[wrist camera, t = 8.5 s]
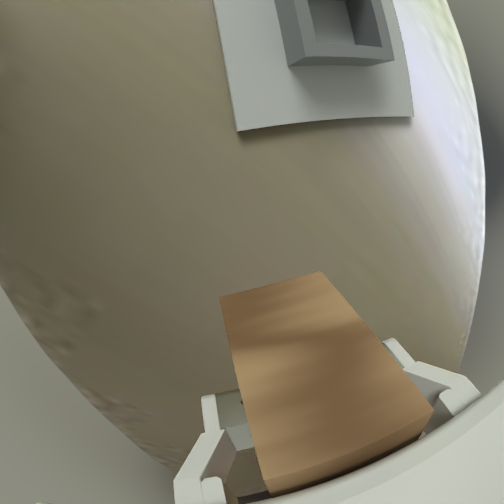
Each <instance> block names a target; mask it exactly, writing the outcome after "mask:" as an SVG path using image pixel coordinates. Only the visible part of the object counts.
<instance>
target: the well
mask: <svg viewBox="0 0 504 504" xmlns="http://www.w3.org/2000/svg"><path fill="white" fill-rule="evenodd" d="M212 1H213V6H214V12H215V17H216V23H217V28H218V34H219V39H220V45H221V50H222V56H223V61H224V67H225V72H226V78H227V83H228V89H229V94H230V100H231V106H232V111H233V117H234V122H235V128H236V131H243V130H249V129H255V128H262V127H268V126H275V125H283V124H291V123H299V122H309V121H319V120H330V119H343V118H361V117H393V116H414V111H413V102H412V94H411V86H410V79H409V73H408V67H407V61H406V56H405V50H404V46H403V41H402V36H401V32H400V27H399V23H398V19H397V15H396V12H395V8H394V4H393V1H392V0H212Z"/></svg>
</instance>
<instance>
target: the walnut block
mask: <svg viewBox="0 0 504 504" xmlns="http://www.w3.org/2000/svg"><path fill="white" fill-rule="evenodd" d="M219 299H220V304H221V309H222V313H223V318H224V323H225V327H226V332H227V336H228V341H229V345H230V350H231V354H232V359H233V363H234V367H235V372H236V376H237V380H238V384H239V388H240V392H241V397H242V401H243V405H244V409H245V413H246V417H247V420H248V424H249V428H250V432H251V436H252V440H253V443H254V447H255V451H256V455H257V458H258V462H259V465H260V469H261V473H262V476H263V480H264V482H265V484H266V486H267V488H268V491H269V493H270V495H271V497H272V498H275V497H279V496H283V495H286V494H290V493H294V492H297V491H300V490H304V489H307V488H310V487H313V486H316V485H319V484H322V483H325V482H328V481H330V480H333V479H336V478H339V477H341V476H344V475H346V474H349V473H351V472H354V471H356V470H358V469H361V468H363V467H365V466H368V465H370V464H372V463H374V462H376V461H378V460H380V459H383V458H385V457H387V456H389V455H391V454H393V453H395V452H397V451H398V450H400V449H402V448H404V447H406V446H408V445H410V444H411V443H413V442H415V441H417V440H418V439H419V437H420V435H421V433H422V432H423V430H424V428H425V427H426V425H427V423H428V421H429V419H430V417H431V416H432V414H433V412H434V409H433V407H432V406H431V405H430V403H429V402H428V401H427V400H426V398H425V397H424V396H423V394H422V393H421V392H420V391H419V389H418V388H417V387H416V385H415V384H414V383H413V382H412V380H411V379H410V378H409V376H408V375H407V374H406V373H405V371H404V370H403V369H402V368H401V366H400V365H399V364H398V363H397V361H396V360H395V359H394V358H393V356H392V355H391V354H390V353H389V352H388V350H387V349H386V348H385V347H384V345H383V344H382V343H381V342H380V341H379V339H378V338H377V337H376V336H375V334H374V333H373V332H372V331H371V330H370V328H369V327H368V326H367V325H366V324H365V322H364V321H363V320H362V319H361V318H360V316H359V315H358V314H357V313H356V312H355V311H354V309H353V308H352V307H351V306H350V305H349V303H348V302H347V301H346V300H345V299H344V298H343V296H342V295H341V294H340V293H339V292H338V291H337V289H336V288H335V287H334V286H333V285H332V284H331V282H330V281H329V280H328V279H327V278H326V277H325V276H324V274H323V273H322V272H321V271H320V272H316V273H312V274H309V275H305V276H301V277H297V278H294V279H290V280H286V281H282V282H278V283H275V284H271V285H267V286H263V287H259V288H255V289H251V290H247V291H243V292H239V293H235V294H231V295H227V296H223V297H219Z"/></svg>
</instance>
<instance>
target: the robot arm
mask: <svg viewBox="0 0 504 504" xmlns="http://www.w3.org/2000/svg"><path fill="white" fill-rule="evenodd" d="M381 343H382V344H383V345H384V347H385V348H386V349H387V350H388V352H389V353H390V354H391V355H392V356H393V358H394V359H395V360H396V361H397V363H398V364H399V365H400V366H401V368H402V369H403V370H404V371H405V373H406V374H407V375H408V376H409V378H410V379H411V380H412V382H413V383H414V384H415V385H416V387H417V388H418V389H419V391H420V392H421V393H422V394H423V396H424V397H425V398H426V400H427V401H428V402H429V403H430V405H431V406H432V407H433V409H434V412H433V414H432V416H431V417H430V419H429V421H428V423H427V425H426V427H425V428H424V432H425V433H426V435H425V436H424V437H422V438H420V439H418V440H417V441H415V442H413V443H411V444H410V445H408V446H406V447H404V448H402V449H400V450H398V451H397V452H395V453H393V454H391V455H389V456H387V457H385V458H383V459H380V460H378V461H376V462H374V463H372V464H370V465H368V466H365V467H363V468H361V469H358V470H356V471H354V472H351V473H349V474H346V475H344V476H341V477H339V478H336V479H333V480H330V481H328V482H325V483H322V484H319V485H316V486H313V487H310V488H307V489H304V490H300V491H297V492H294V493H290V494H286V495H283V496H279V497H275V498H271V499H267V500H262V501H258V502H253V503H248V504H504V379H502V380H501V381H500V382H499V383H498V384H496V385H495V386H494V387H493V388H492V389H490V390H489V391H488V392H487V393H486V394H484V395H482V394H481V393H480V392H479V391H478V390H477V389H476V387H475V386H474V385H473V384H472V383H471V382H470V381H469V380H468V379H467V378H466V376H463V375H460V374H457V373H453V372H450V371H447V370H444V369H441V368H438V367H435V366H432V365H429V364H426V363H423V362H420V361H417V362H415V361H414V360H413V359H412V358H411V356H410V355H409V354H408V353H407V352H406V351H405V350H404V349H403V347H402V346H401V345H400V344H399V343H398V342H397V341H396V340H395V339H394V338H390V339H388V340H386V341H383V342H381ZM201 403H202V412H203V420H204V428H205V433H201V435H200V437H199V438H198V440H197V442H196V443H195V445H194V447H193V449H192V450H191V452H190V454H189V455H188V457H187V459H186V461H185V462H184V464H183V466H182V467H181V469H180V471H179V472H178V474H177V476H176V477H175V479H174V481H173V482H174V494H175V504H238V500H237V497H236V496H235V495H234V494H233V493H232V491H231V490H230V489H229V488H228V487H227V485H226V484H225V481H226V478H227V476H228V473H229V471H230V469H231V466H232V464H233V461H234V459H235V456H236V454H237V452H236V451H240V450H244V449H248V448H252V447H254V443H253V440H252V436H251V432H250V428H249V424H248V420H247V417H246V413H245V409H244V405H243V401H242V397H241V392H240V389H236V390H231V391H226V392H221V393H216V394H211V395H206V396H202V398H201ZM37 504H50V503H44V502H39V503H37Z"/></svg>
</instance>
